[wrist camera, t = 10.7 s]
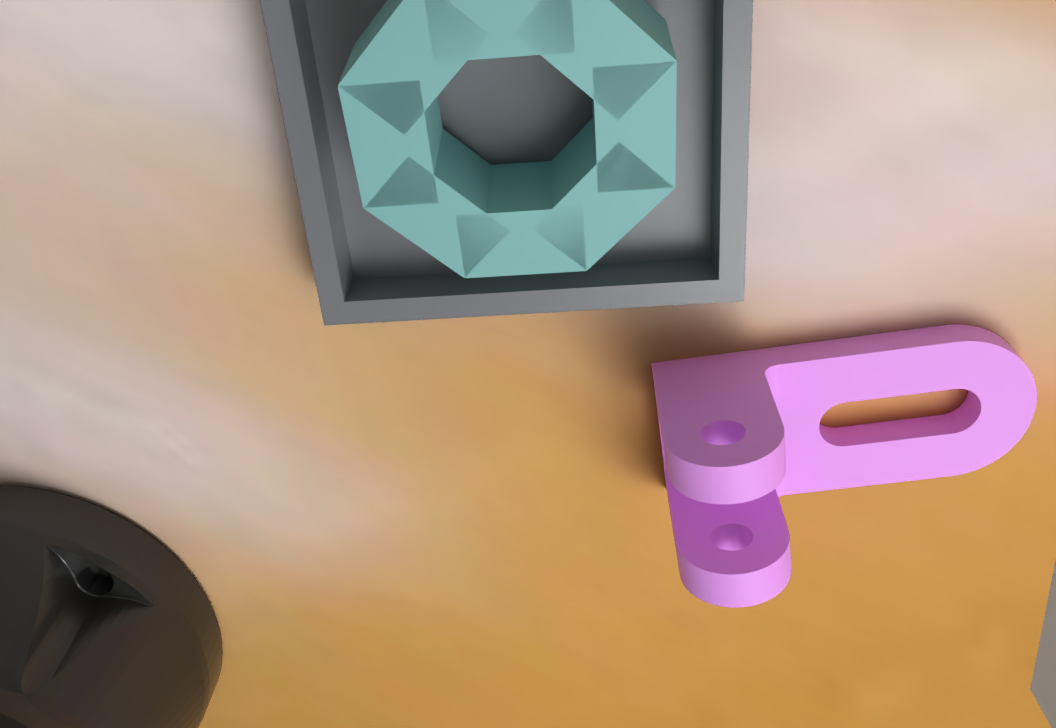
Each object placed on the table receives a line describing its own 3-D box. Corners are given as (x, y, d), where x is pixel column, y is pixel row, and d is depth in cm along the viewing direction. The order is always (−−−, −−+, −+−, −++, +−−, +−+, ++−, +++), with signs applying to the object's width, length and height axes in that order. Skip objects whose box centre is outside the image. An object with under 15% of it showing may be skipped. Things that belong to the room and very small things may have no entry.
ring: (391, 232, 33) (378, 283, 31) (319, -135, 26) (297, -105, 24) (664, 215, 32) (674, 265, 30) (667, -165, 25) (679, -137, 23)
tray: (338, 294, 35) (324, 325, 33) (257, -143, 28) (232, -139, 26) (732, 270, 34) (743, 300, 32) (743, -185, 27) (758, -185, 25)
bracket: (665, 486, 38) (685, 613, 32) (650, 361, 36) (669, 473, 30) (1014, 445, 37) (1104, 569, 31) (1025, 312, 34) (1126, 419, 28)
